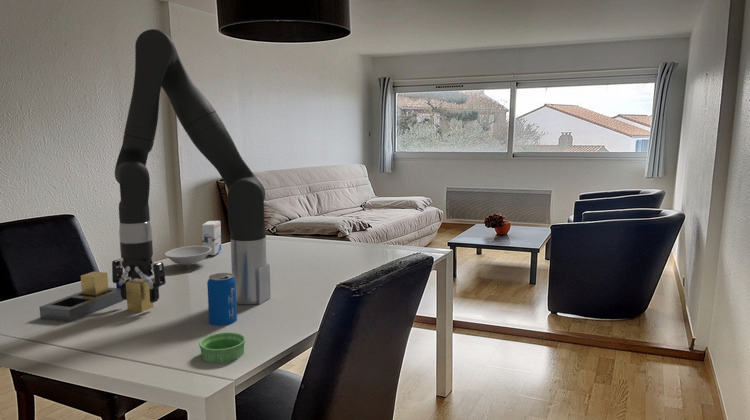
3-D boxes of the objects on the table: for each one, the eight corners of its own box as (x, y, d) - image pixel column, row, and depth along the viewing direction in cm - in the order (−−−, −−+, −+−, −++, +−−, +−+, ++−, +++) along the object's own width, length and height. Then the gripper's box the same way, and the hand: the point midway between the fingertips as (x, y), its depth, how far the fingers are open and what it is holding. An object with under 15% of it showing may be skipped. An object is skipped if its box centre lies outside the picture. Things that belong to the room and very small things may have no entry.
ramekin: (190, 366, 105) (189, 345, 104) (219, 349, 113) (218, 329, 112) (228, 374, 102) (227, 352, 101) (254, 355, 110) (254, 335, 109)
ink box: (209, 250, 206) (208, 220, 205) (222, 250, 206) (221, 220, 205) (202, 255, 198) (200, 224, 196) (215, 255, 198) (214, 224, 196)
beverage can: (222, 331, 123) (220, 281, 121) (203, 325, 126) (201, 277, 125) (242, 322, 128) (241, 274, 127) (224, 317, 132) (222, 271, 130)
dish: (193, 273, 173) (192, 258, 172) (155, 270, 177) (154, 255, 176) (221, 260, 190) (220, 246, 189) (185, 258, 193) (185, 244, 193)
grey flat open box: (124, 301, 144) (123, 288, 144) (70, 324, 127) (69, 310, 127) (97, 298, 147) (96, 286, 146) (40, 320, 130) (39, 306, 129)
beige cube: (109, 301, 142) (107, 272, 141) (96, 306, 138) (94, 277, 137) (95, 300, 143) (93, 271, 142) (83, 305, 139) (80, 275, 138)
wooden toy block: (153, 308, 139) (151, 279, 137) (142, 314, 134) (140, 283, 133) (139, 306, 140) (137, 277, 139) (127, 312, 136) (125, 282, 134)
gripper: (169, 237, 136) (172, 298, 138) (123, 234, 140) (127, 293, 142) (149, 243, 129) (153, 307, 131) (101, 240, 133) (106, 302, 135)
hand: (140, 300), depth 137 cm, fingers open, 8 cm apart
